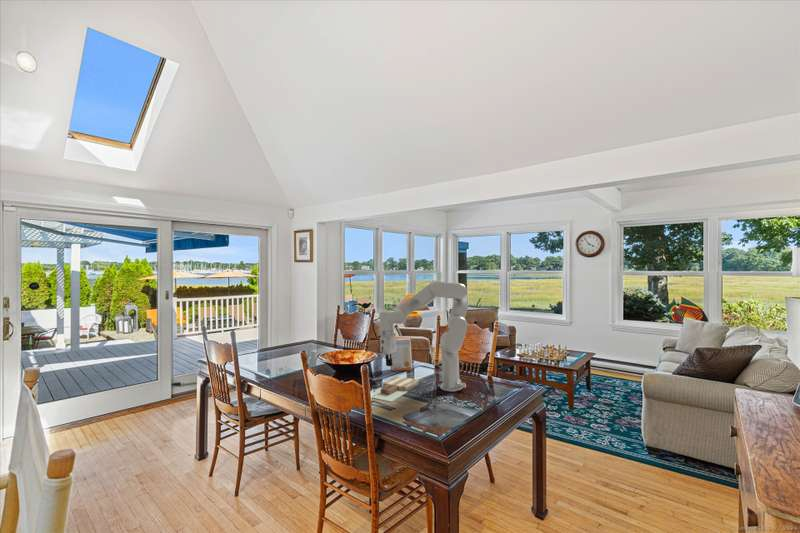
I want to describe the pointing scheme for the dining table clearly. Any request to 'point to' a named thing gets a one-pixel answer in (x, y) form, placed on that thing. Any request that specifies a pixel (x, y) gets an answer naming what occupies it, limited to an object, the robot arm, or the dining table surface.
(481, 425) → the dining table surface
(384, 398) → the mat
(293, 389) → the dining table surface
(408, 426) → the dining table surface
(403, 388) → the deck
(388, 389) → the tile
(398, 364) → the cracker box
